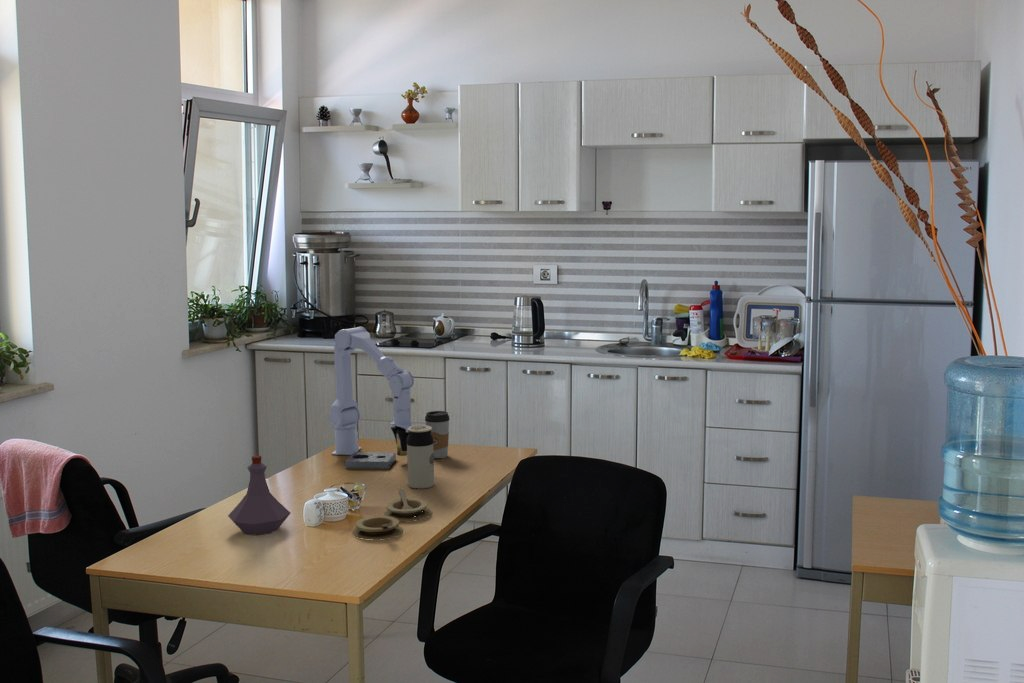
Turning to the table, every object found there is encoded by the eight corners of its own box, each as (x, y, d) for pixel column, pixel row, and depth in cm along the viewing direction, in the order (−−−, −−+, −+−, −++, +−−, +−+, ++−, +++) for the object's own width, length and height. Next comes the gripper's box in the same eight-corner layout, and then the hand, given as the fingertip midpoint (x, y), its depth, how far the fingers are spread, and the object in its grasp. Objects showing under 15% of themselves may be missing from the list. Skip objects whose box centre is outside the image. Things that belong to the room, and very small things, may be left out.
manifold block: (354, 459, 346) (354, 452, 346) (395, 459, 345) (395, 452, 344) (345, 468, 334) (345, 461, 334) (387, 469, 333) (387, 461, 333)
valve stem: (398, 452, 342) (397, 432, 341) (410, 452, 342) (409, 432, 341) (395, 455, 338) (395, 434, 337) (407, 455, 338) (407, 435, 337)
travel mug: (403, 487, 312) (401, 429, 309) (417, 480, 319) (415, 424, 316) (425, 490, 308) (423, 431, 306) (439, 483, 315) (437, 426, 313)
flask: (266, 516, 285) (262, 446, 283) (304, 527, 275) (301, 455, 272) (215, 531, 273) (211, 458, 270) (253, 544, 263) (249, 468, 260)
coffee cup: (422, 458, 345) (420, 415, 343) (431, 452, 353) (430, 410, 351) (445, 460, 343) (444, 416, 341) (454, 454, 351) (453, 411, 349)
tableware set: (388, 506, 296) (387, 486, 295) (450, 513, 288) (449, 493, 288) (333, 538, 269) (332, 516, 268) (399, 547, 261) (398, 525, 260)
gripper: (383, 405, 343) (384, 445, 345) (397, 414, 330) (398, 455, 332) (403, 403, 346) (404, 443, 348) (418, 412, 333) (419, 453, 334)
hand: (402, 449), depth 340 cm, fingers closed on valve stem, 4 cm apart
